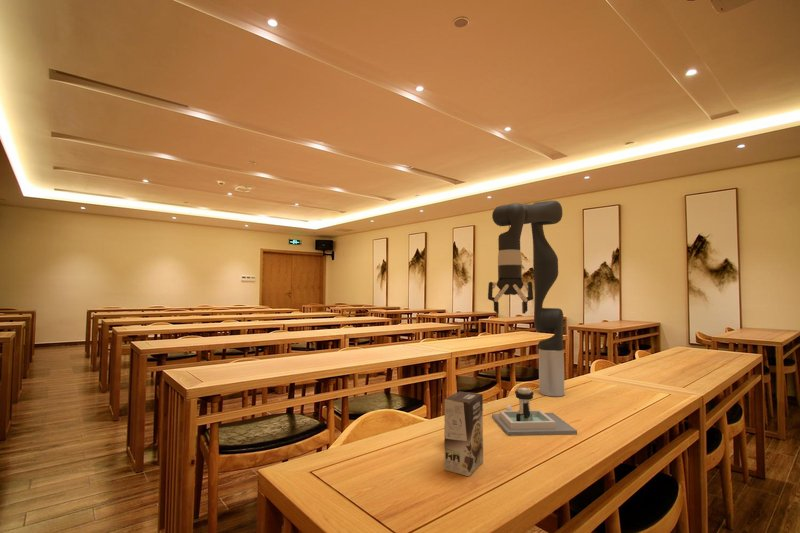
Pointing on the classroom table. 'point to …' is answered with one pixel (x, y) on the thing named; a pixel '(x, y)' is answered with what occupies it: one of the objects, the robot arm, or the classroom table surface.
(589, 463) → the classroom table surface
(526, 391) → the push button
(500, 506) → the classroom table surface
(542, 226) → the robot arm
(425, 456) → the classroom table surface
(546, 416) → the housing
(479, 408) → the coffee box
